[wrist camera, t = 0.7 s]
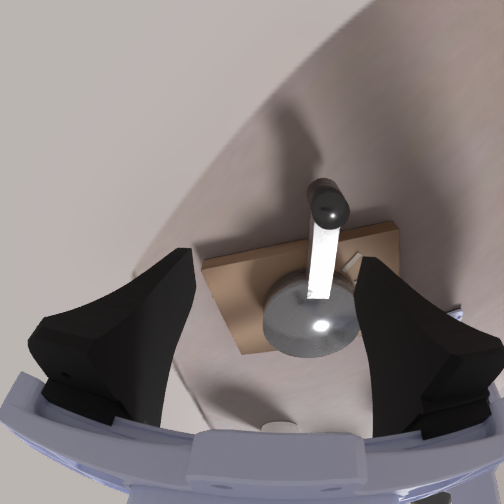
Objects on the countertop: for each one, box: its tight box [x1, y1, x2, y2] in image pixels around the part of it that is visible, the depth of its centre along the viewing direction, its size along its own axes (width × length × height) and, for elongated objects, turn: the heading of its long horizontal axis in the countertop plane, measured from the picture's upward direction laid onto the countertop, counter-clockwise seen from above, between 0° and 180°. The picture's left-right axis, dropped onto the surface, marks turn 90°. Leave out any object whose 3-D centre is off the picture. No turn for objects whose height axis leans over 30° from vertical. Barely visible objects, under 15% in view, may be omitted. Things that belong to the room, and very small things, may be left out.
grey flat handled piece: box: [263, 178, 360, 358], centre depth 21 cm, size 15×8×3 cm, turn 1°
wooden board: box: [201, 221, 399, 355], centre depth 25 cm, size 11×16×2 cm
